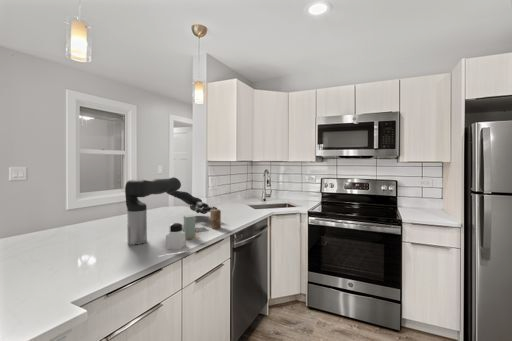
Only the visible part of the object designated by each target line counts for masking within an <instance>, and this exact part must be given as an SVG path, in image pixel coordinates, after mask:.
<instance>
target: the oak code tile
mask: <svg viewBox="0 0 512 341" xmlns="http://www.w3.org/2000/svg"><path fill="white" fill-rule="evenodd" d="M199 239H200V240H201V237H200V236H199V235H198V233H195V238H190V239H186V238H185V242H186V241H192V240H199Z"/></svg>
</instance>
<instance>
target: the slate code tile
mask: <svg viewBox="0 0 512 341" xmlns="http://www.w3.org/2000/svg"><path fill="white" fill-rule="evenodd" d="M204 232H210V231H209V229H207V228H206V227H205V226H204V227H202V226H201V227H195V234H198V233H204Z"/></svg>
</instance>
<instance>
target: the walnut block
mask: <svg viewBox="0 0 512 341" xmlns="http://www.w3.org/2000/svg"><path fill="white" fill-rule="evenodd" d="M210 211H211V212H210V228H211V229H212V230H218V229H219V230H220V229H221V223H222V222H221V220H222V218H221V213H222V210H221V209H218V208H217V209H214V210H210Z"/></svg>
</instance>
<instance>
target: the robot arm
mask: <svg viewBox="0 0 512 341" xmlns="http://www.w3.org/2000/svg"><path fill="white" fill-rule="evenodd" d="M181 187H182V183H181V181H180V179H178V178H177V177H174V176H173V177H169V178H153V179H151V180H148V179H147V180H145V179H129V180H127V181H126V183H125V188H124V189H125V190H124V194H125V195H124V196H125V204H126V206H125V207H126V208H127V209H126V210H127V214H126V215H127V226H126V228H127V229H126V230H127V232H126V234H127V245H128V246H135V244H138V245H141V244H142V243H143V244H145V243H147V242H148V231H147V230H148V225H147V224H148V222H147V219H148V218H147V215H148V214H147V213H148V212H147V211H148V210H147V204H146V203H145V202H143V201H140V199H139V198H146V197H148V196H151V195H161V194H164V193H166V194H167V195H169V196H172V197H174V198H177V199H179V200H181V201H182V202H184V203H185V204H187V205H189V209H190V210H191V211H193V212H195V213H197V214H201V215H202V214H203V215H206V214H208V213H211V210H214V209H218V207H215V206H209V204H208V203H205V202H204V201H203V200H202V198H199V197H197V196H196V197H195V196H193V195H192V194H190V193H189V192H186V191H180V190H179V189H181ZM146 241H147V242H146Z"/></svg>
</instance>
